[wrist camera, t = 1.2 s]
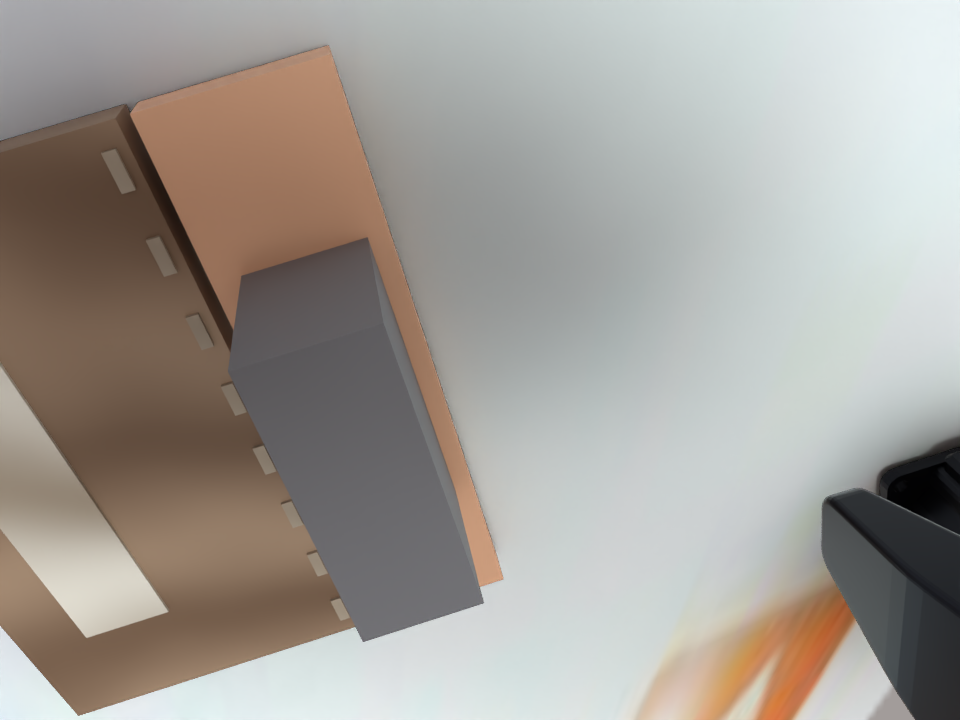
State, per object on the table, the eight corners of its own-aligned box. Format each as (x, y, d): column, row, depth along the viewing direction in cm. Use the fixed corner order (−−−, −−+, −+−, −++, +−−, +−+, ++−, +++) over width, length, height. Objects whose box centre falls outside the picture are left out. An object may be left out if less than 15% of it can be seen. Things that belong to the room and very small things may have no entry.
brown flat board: (360, 594, 26) (363, 626, 25) (87, 682, 26) (77, 718, 25) (125, 103, 17) (113, 119, 16) (-290, 227, 17) (-330, 252, 16)
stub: (496, 556, 26) (536, 695, 22) (370, 596, 26) (384, 745, 22) (328, 44, 17) (338, 105, 13) (138, 101, 17) (83, 181, 13)
